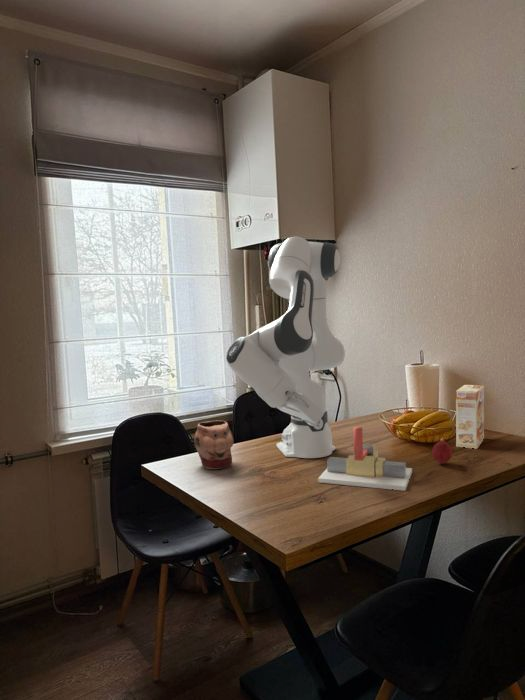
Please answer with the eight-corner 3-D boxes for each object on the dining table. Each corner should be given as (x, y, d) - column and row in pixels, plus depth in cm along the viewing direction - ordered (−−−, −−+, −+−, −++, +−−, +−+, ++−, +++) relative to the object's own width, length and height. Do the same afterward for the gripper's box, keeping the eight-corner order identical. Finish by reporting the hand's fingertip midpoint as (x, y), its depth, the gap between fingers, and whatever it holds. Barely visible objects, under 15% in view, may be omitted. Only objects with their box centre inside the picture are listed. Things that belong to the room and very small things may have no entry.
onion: (453, 467, 156) (453, 441, 156) (433, 466, 158) (433, 440, 157) (450, 461, 162) (450, 436, 161) (431, 461, 163) (431, 436, 163)
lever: (359, 449, 153) (358, 418, 152) (374, 450, 151) (373, 418, 150) (349, 461, 141) (348, 428, 140) (365, 463, 139) (365, 429, 138)
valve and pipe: (326, 477, 152) (325, 452, 151) (331, 470, 157) (330, 447, 157) (403, 484, 143) (403, 458, 143) (406, 477, 149) (406, 452, 148)
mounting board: (318, 482, 148) (318, 478, 148) (332, 465, 162) (332, 461, 162) (405, 490, 138) (405, 486, 138) (412, 472, 153) (412, 468, 153)
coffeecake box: (477, 449, 174) (477, 391, 172) (455, 447, 178) (454, 390, 176) (485, 438, 187) (484, 385, 185) (464, 436, 190) (463, 384, 189)
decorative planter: (186, 460, 174) (184, 419, 173) (219, 454, 180) (217, 414, 179) (208, 476, 157) (206, 430, 156) (245, 469, 162) (243, 425, 161)
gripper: (305, 384, 121) (342, 421, 126) (270, 376, 140) (303, 408, 144) (289, 405, 120) (327, 442, 124) (255, 394, 139) (289, 426, 143)
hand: (314, 423), depth 135 cm, fingers closed
